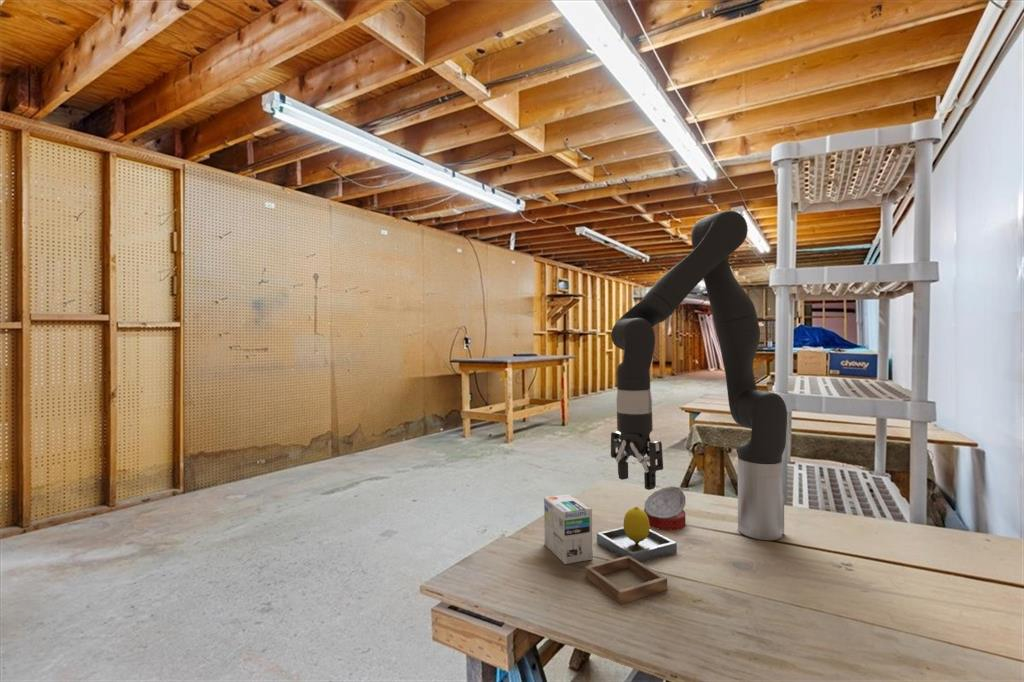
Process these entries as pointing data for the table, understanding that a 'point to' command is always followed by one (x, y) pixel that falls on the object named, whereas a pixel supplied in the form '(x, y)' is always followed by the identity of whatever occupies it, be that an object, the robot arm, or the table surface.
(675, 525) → the canned food
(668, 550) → the tray
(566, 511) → the light bulb box
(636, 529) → the lemon
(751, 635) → the table surface
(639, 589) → the holder
